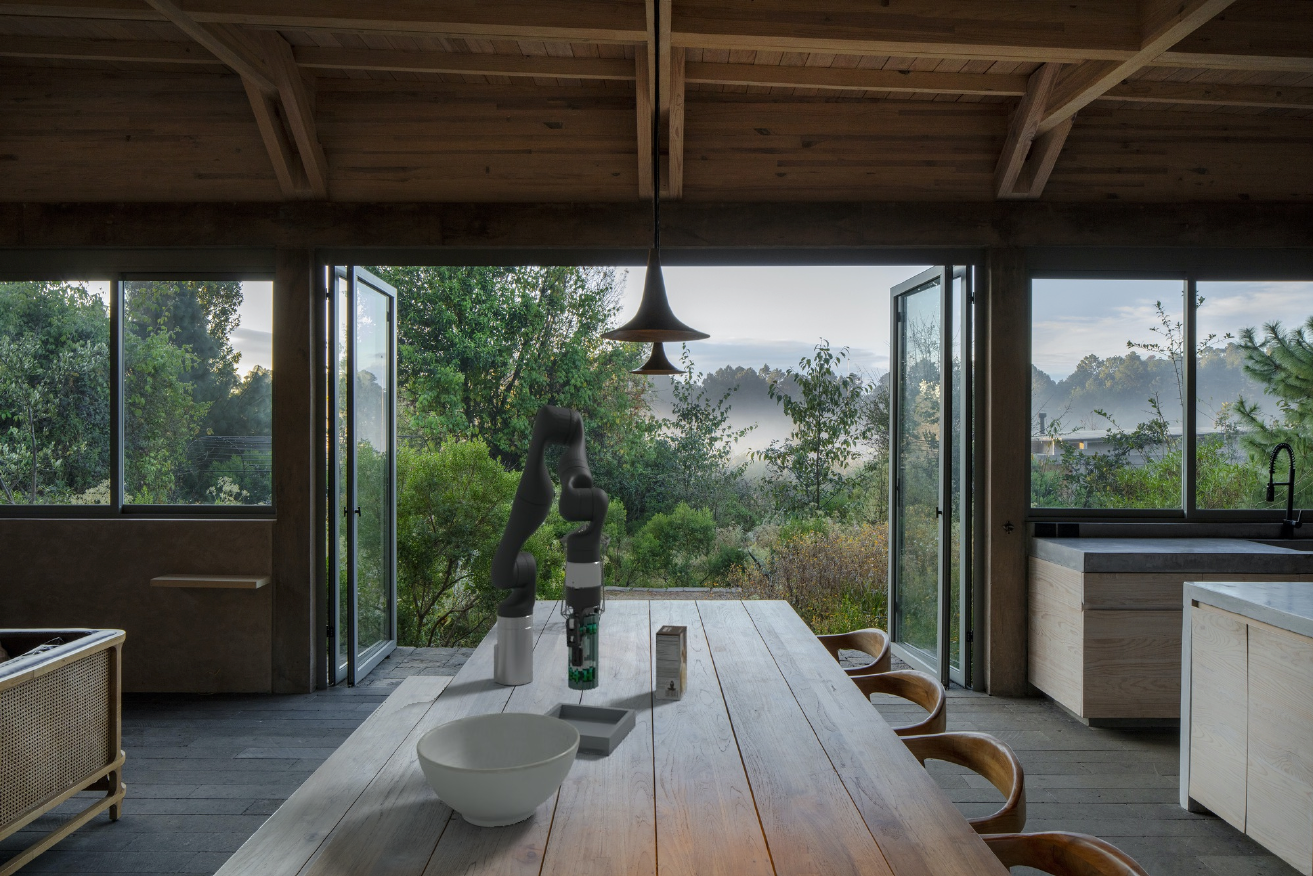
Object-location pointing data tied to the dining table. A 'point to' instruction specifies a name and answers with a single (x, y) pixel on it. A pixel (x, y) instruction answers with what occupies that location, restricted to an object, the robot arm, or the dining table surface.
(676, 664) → the coffee box
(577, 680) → the can
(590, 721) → the tray
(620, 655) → the dining table surface
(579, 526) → the geometric lantern
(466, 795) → the decorative bowl
